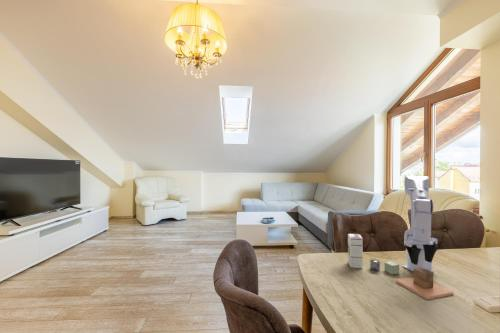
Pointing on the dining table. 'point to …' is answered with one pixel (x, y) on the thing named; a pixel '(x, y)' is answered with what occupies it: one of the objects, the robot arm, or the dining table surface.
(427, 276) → the walnut block
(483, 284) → the dining table surface
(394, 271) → the sage painted cube
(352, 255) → the syrup box
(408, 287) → the terracotta tile
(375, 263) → the grey metal cylinder
